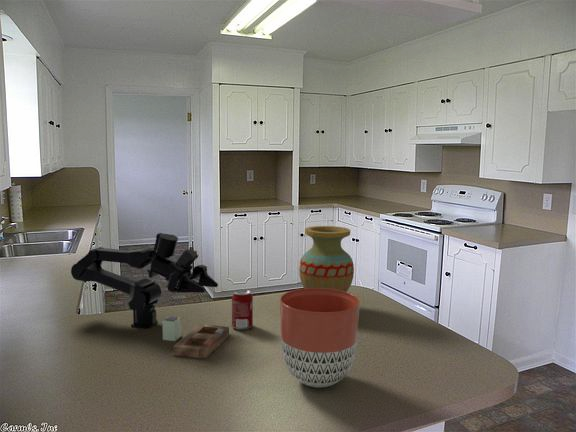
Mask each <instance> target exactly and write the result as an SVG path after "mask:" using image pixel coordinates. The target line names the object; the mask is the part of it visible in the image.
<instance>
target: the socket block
mask: <svg viewBox="0 0 576 432" xmlns="http://www.w3.org/2000/svg"><path fill="white" fill-rule="evenodd" d="M229 335H230V326H224V325H214V324H207V323H204V324H203V323H199V324H198V325H196V326H195V327H194V328H193V329H191V330H190V331H189V332H188V333H187V334H186V335H184V336H183V337H182V338H181V339H180V340H179V341H178V342H177V343H175V345H173V347H172V352H173V353H172V355H173V356H178V357H188V358H196V359H204V360H206V359H208V358H209V357H210V356H211V354H213V353H214V351H215V350H217V348H218V347H219V346H220V345H221V344H222V343H223V342H224V340H225V339H227V337H229Z"/></svg>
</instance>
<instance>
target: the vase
mask: <svg viewBox="0 0 576 432" xmlns="http://www.w3.org/2000/svg"><path fill="white" fill-rule="evenodd" d="M304 234H305V235H306V236H308V237H310V238H311V239H312V241H313V242H312V247H311V248H310V249H308V250H307V251H305V252H304V254H302V256H301V258H300V262H299V267H298V268H299V269H298V270H299V272H298V275H299V280H300V284H301V286H302V287H303V289H304V288H328V289H335V290H340V291H344V292H348V291H349V289H350V287H351V285H352V283H353V279H354V274H355V264H354V262H353V258H352V257H351V255H350V254H349V253H348V252H346V251H345V250H344V248H342V240H343V239H345V238H346V237H349V236H350V235H351V229H349V228H347V227H343V226H334V225H333V226H332V225H315V226H307V227H305V228H304Z"/></svg>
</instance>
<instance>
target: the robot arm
mask: <svg viewBox="0 0 576 432" xmlns="http://www.w3.org/2000/svg"><path fill="white" fill-rule="evenodd" d="M155 237H156V238H155V242H154V247H152V248H151V247H146V248H138V249H131V250H129V249H118V248H105V247H96V248H91V249H90V250H89V251H88V253H87V254H86V255H84V256H83V257H82V258H80V260H78V261H77V262H76V263H74V264H73V265H72V266H71V268H70V269H71V270H70V274H71V276H72V278H73V279H74V280H76V281H80V282H96V283H97V284H101V285H103V286H106V287H108V288H111V289H114V290H116V291H119V292H121V293H124V294H126V295H129V297H130V298H131V300H130V301H129V302H128V307H129V309H130V310H132V315H133V316H132V318H133V320H132V321H133V323H130V327H132V328H133V327H135V328H143V329H149V328H150V327H151V328H152V327H153V326H154V325H155V324H156V323H158V322H159V321H158V319H157V310H156V304H158V302H159V299H160V298H161V297H162V289H161V287H160V285H159V284H158V283H157V282H156V280H150V279H152V278H154V277H157V276H161V277H163V278H165V279H164V280H165V281H166V282H167V286H166V288H167V291H168V292H171V293H172V294H175V293H178V294H179V293H180V294H181V293H205V291H206V289H205V288H206V287H207V288H208V287H209V288H218V287H219V283H218V282H217V281H215V279H214V278H212V277H211V276H210V274H208V267H207V266H206V265H205V264H199V265H196V266H193V265H192V264H193V263H194V262H195V260H196V259H198V258H199V255H198V252H197V251H196V250H194V249H191V248H190V249H185V250H184V251H183V252H182V253H181V255H180V256H179V258H178V259H177V261H174V260H172V259H170V258H171V257H174V256H175V252H176V248H177V244H178V241H179V238H178V237H177V236H176V235H174V234H168V233H163V232H159V233H156V236H155ZM103 262H109V263H121V264H126V265H128V266H130V267H131V268H136V269H139V270H142V269H144V268H147V267H149V266H150V268H149V269H147V273H148V277H149V278H147V277H145V278H141V279H139V280H137V281H136V280H133V279H130V278H128V277H125V276H122V275H119V274H116V273H114V272H113V271H110V270H106V269H104V268H103V267H102V264H103ZM193 267H194V268H193ZM192 269H193V270H192Z"/></svg>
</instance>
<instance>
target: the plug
mask: <svg viewBox="0 0 576 432" xmlns="http://www.w3.org/2000/svg"><path fill="white" fill-rule="evenodd" d="M181 319H182V318H181V317H178V316H172V315H171V316H167V317H165V319H163V320H162V323H161V325H162V341H170V342H176V341H177V340H179V338H181V336H182V329H181V328H182V327H181V326H182V324H181V322H182V321H181Z"/></svg>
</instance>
